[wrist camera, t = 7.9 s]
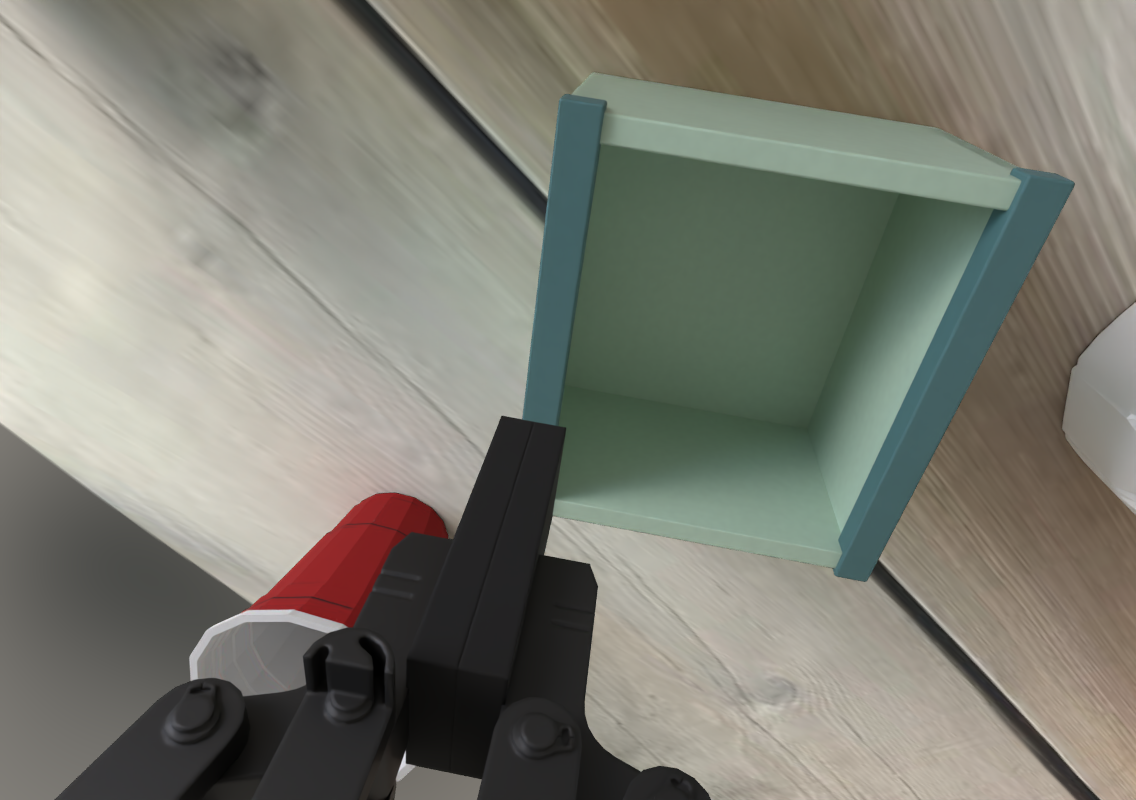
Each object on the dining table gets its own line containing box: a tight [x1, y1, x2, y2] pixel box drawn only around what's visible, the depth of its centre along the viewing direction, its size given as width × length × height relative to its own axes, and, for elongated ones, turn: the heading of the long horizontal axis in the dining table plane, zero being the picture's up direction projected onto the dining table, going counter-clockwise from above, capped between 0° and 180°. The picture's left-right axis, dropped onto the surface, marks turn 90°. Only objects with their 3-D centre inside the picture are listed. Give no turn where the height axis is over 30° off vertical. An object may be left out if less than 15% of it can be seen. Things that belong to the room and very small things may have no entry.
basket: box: [522, 72, 1075, 582], centre depth 25 cm, size 14×9×13 cm
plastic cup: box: [190, 493, 448, 781], centre depth 34 cm, size 11×11×12 cm
